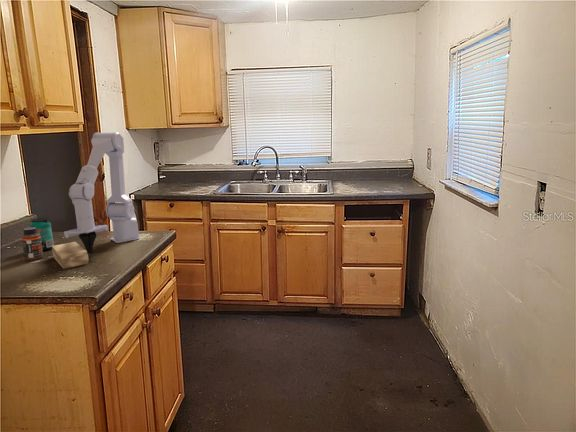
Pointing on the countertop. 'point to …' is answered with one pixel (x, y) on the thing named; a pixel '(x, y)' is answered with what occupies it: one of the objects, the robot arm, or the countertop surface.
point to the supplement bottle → (32, 244)
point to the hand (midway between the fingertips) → (89, 252)
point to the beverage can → (44, 232)
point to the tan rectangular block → (69, 255)
